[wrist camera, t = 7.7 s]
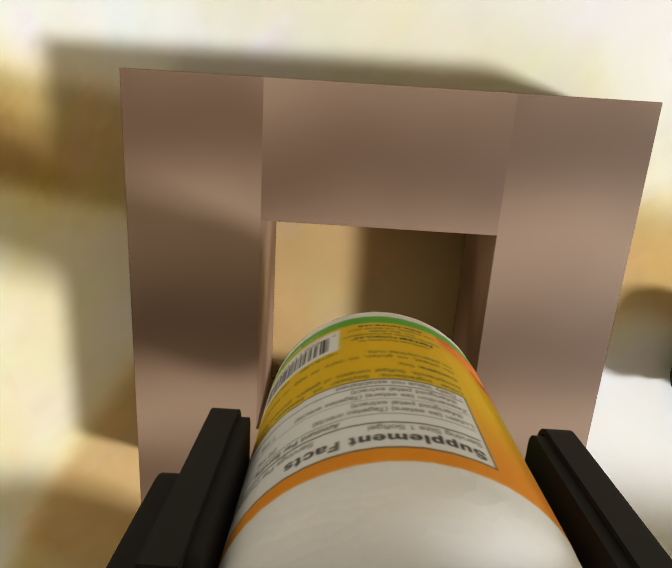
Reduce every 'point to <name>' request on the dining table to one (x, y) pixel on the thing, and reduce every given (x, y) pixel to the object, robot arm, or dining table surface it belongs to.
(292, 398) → the supplement bottle
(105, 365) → the dining table surface
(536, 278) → the collar block
